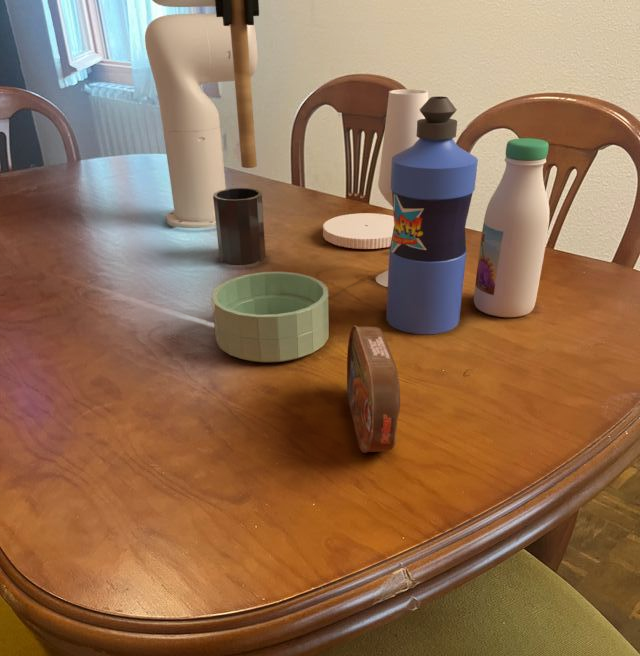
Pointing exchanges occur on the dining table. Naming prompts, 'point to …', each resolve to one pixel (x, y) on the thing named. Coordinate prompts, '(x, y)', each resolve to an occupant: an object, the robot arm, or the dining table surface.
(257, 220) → the holder
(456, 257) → the water bottle
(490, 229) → the milk bottle
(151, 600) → the dining table surface
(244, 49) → the stick
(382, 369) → the tin
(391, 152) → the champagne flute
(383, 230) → the plastic lid
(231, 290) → the bowl
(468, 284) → the dining table surface
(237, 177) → the dining table surface
